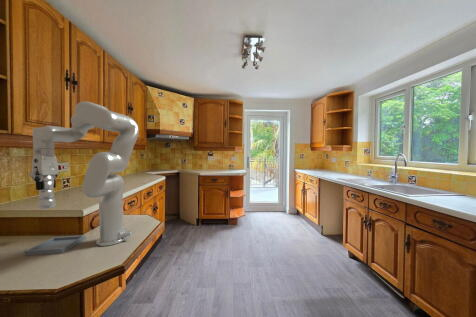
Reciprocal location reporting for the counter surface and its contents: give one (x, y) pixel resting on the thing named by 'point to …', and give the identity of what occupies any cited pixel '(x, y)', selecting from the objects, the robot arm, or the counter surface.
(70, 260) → the counter surface
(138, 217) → the counter surface
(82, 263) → the counter surface
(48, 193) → the plastic bottle
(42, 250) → the slate tray
